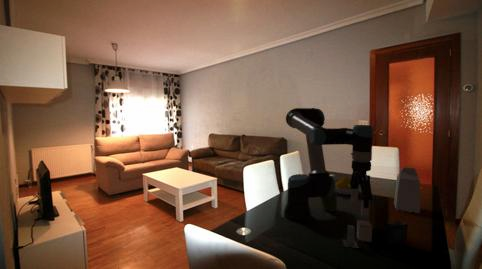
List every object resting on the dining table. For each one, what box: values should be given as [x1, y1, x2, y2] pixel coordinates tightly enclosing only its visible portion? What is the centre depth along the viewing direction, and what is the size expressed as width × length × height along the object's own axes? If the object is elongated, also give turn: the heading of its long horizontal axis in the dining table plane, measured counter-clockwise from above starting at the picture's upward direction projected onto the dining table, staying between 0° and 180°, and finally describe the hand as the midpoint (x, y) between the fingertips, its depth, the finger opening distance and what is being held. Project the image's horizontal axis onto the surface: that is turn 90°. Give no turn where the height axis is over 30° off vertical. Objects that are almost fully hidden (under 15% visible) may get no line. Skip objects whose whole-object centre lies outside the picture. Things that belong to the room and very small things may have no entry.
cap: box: [356, 219, 373, 243], centre depth 110 cm, size 5×5×8 cm
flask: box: [386, 219, 409, 245], centre depth 107 cm, size 9×3×11 cm, turn 95°
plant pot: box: [319, 191, 338, 212], centre depth 143 cm, size 12×12×11 cm
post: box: [341, 224, 360, 250], centre depth 105 cm, size 6×6×8 cm
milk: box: [393, 166, 421, 214], centre depth 145 cm, size 12×12×26 cm
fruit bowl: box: [334, 175, 361, 196], centre depth 176 cm, size 28×27×11 cm
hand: (359, 208), depth 103 cm, fingers open, 13 cm apart
